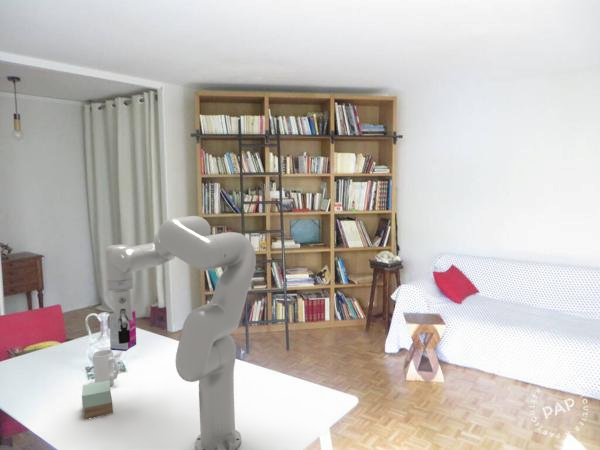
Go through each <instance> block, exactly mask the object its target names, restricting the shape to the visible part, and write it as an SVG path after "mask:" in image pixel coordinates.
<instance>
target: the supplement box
mask: <svg viewBox="0 0 600 450" xmlns="http://www.w3.org/2000/svg"><path fill="white" fill-rule="evenodd" d="M120 313H121V310H120ZM132 316H133V320H132V321H130V320H128V325H129V330H130V342H128V343H122V344H119V336H118V331H119V323H117V322H116V319H115V315H114V312H112V313H109V315H108V317H109V343H110V344H109V345H110V349H109V350H112V351H118V352H127V351H128V350H130V349H131V348H133V347H134V346H137V321H136V319H137V318H136V317H137V316H136V310H132ZM126 320H127V318H126ZM120 321H122V319H120ZM121 324H122V323H121Z"/></svg>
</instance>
